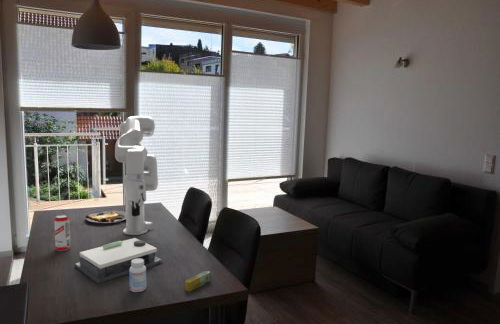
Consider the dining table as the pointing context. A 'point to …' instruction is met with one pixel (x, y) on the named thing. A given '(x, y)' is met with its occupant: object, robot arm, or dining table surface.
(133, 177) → the robot arm
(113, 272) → the level stand
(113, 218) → the food plate
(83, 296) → the dining table surface
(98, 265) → the board
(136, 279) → the pill bottle
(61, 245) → the beer can
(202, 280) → the medication box
